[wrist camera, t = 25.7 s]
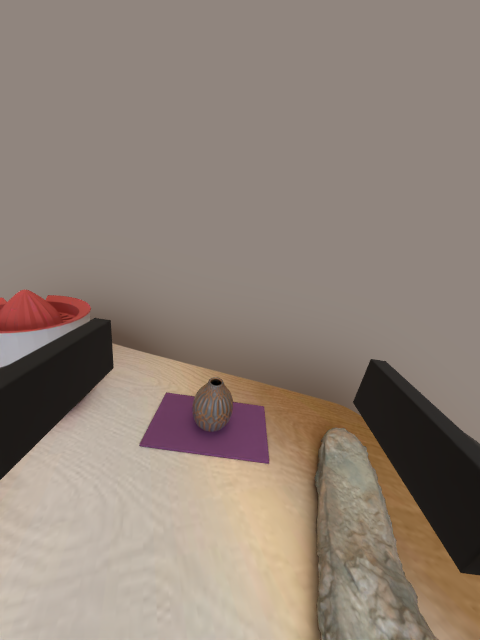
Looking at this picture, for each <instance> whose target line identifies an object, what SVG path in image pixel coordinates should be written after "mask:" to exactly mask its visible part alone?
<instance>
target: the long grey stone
mask: <svg viewBox="0 0 480 640" xmlns="http://www.w3.org/2000/svg"><path fill="white" fill-rule="evenodd" d="M321 442H322V445H321V447H320V449H319V452H318V453H319V454H318V457H319V463H318V470H317V472H316V475H315V481H316V484H315V485H316V487H317V492H318V494H319V497H318V516H317V521H316V523H317V528H316V531H317V534H318V539H317V549H318V551H317V555H318V557H319V564H318V570H319V586H318V592H319V598H318V600H317V615H318V625H319V631H320V632H321V640H438V639H437V638H436V637H435V636H434V635H433V633H432V631H431V630H430V628H429V626H428V624H427V623H426V621H425V619H424V617H423V616H422V615H421V613H420V612H419V609H418V606H417V603H418V602H417V595H416V593H415V590H414V589H413V587H412V585H411V583H410V582H408V581H407V579H406V578H405V573H404V571H403V569H402V564H401V562H400V559H399V556H398V553H397V548H396V539H395V538H394V535H393V529H392V522H391V520H390V516H389V515H388V511H387V508H386V504H385V498H384V497H383V495H382V489H381V487H380V485H379V484H378V477H377V474H376V471H375V469H374V468H373V467H372V466H371V464H370V461H369V459H368V452H367V448H366V447H365V446H363V445H362V444H361V442H360V441H359V440H358V439H357V437H356V436H355V435H354V434H352V433H350V432H348V431H347V430H346V429H345V428H332V429H330V430H328V431H327V432H326V434H325V435H324V437H323V438H322V439H321Z"/></svg>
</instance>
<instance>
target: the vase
mask: <svg viewBox="0 0 480 640" xmlns="http://www.w3.org/2000/svg"><path fill="white" fill-rule="evenodd" d="M232 411H233V400H232V396H231V393H230V391H229V390H228V389H227V387H226V386H225V385H224V382H223V380H222V379H220V378H211V379H210V380H209V381H208V383H207V384H205V385H204V386H203V387H201V388H200V389H199V391H198V392H197V394H196V396H195V398H194V401H193V406H192V413H193V417H194V420H195V422H196V424H197V425H198V426H199V427H200V428H201V429H203V430H205V431H209V432H214V431H218V430H220V429H222V428H223V427H224V426H225V425H226V424H227V423H228V421H229V420H230V418H231V415H232Z"/></svg>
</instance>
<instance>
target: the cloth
mask: <svg viewBox="0 0 480 640" xmlns="http://www.w3.org/2000/svg"><path fill="white" fill-rule="evenodd" d="M194 398H195V397H194V396H187V395H180V394H173V393H166V394H165V396H164V398H163V400H162V402H161V404H160V406H159V408H158V410H157V412H156V414H155V415H154V417H153V419H152V421H151V423H150V425H149V427H148V429H147V431H146V433H145V435H144V437H143V439H142V441H141V443H140V446H143V447H150V448H158V449H165V450H172V451H180V452H187V453H194V454H202V455H209V456H216V457H224V458H231V459H238V460H246V461H253V462H260V463H268V464H269V454H268V444H267V433H266V423H265V412H264V406H257V405H250V404H243V403H236V402H233V411H232V415H231V418H230V420H229V421H228V423H227V424H226V425H225V426H224V427H223V428H222V429H220V430H218V431H214V432H209V431H205V430H203V429H201V428H200V427H199V426H198V425H197V424H196V422H195V420H194V417H193V413H192V406H193V401H194Z"/></svg>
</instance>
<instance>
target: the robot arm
mask: <svg viewBox="0 0 480 640" xmlns="http://www.w3.org/2000/svg"><path fill="white" fill-rule="evenodd" d="M112 369H113V352H112V335H111V321H110V320H104V319H97V318H94V319H92V320H90V321H89V322H87V323H85V324H83V325H81V326H79V327H77V328H76V329H74V330H72V331H70V332H68V333H66V334H65V335H63V336H61V337H59V338H57V339H55V340H53V341H52V342H50V343H48V344H46V345H44V346H42V347H41V348H39V349H37V350H35V351H33V352H31V353H29V354H28V355H26V356H24V357H22V358H20V359H18V360H17V361H15V362H13V363H11V364H9V365H6V366H3V367H0V480H1V479H2V478H3V477H4V476H5V475H6V474H7V473H8V472H9V471H10V470H11V469H12V468H13V467H14V466H15V465H16V464H17V463H18V462H19V461H20V460H21V459H22V458H23V457H24V456H25V455H26V454H27V453H28V452H29V451H30V450H31V449H32V448H33V447H34V446H35V445H36V444H37V443H38V442H39V441H40V440H41V439H42V438H43V437H44V436H45V435H46V434H47V433H48V432H49V431H50V430H51V429H52V428H53V427H54V426H55V425H56V424H57V423H58V422H59V421H60V420H61V419H62V418H63V417H64V416H65V415H66V414H67V413H68V412H69V411H70V410H71V409H72V408H73V407H74V406H76V405H77V404H78V403H79V402H80V401H81V400H82V399H83V398H84V397H85V396H86V395H87V394H88V393H89V392H90V391H91V390H92V389H93V388H94V387H95V386H96V385H97V384H98V383H99V382H100V381H101V380H102V379H103V378H104V377H105V376H106V375H107V374H108V373H109V372H110V371H111V370H112ZM353 403H354V405H355V406H356V408H357V409H358V411H359V412H360V414H361V416H362V417H363V419H364V420H365V422H366V424H367V425H368V427H369V428H370V430H371V432H372V433H373V435H374V436H375V438H376V439H377V441H378V443H379V444H380V446H381V447H382V449H383V451H384V452H385V454H386V455H387V457H388V458H389V460H390V462H391V463H392V465H393V466H394V468H395V469H396V471H397V473H398V474H399V476H400V477H401V479H402V481H403V482H404V484H405V485H406V487H407V488H408V490H409V492H410V493H411V495H412V496H413V498H414V500H415V501H416V503H417V504H418V506H419V507H420V509H421V511H422V512H423V514H424V515H425V517H426V519H427V520H428V522H429V523H430V525H431V526H432V528H433V530H434V531H435V533H436V534H437V536H438V537H439V539H440V541H441V542H442V544H443V545H444V547H445V549H446V550H447V552H448V553H449V555H450V556H451V558H452V560H453V561H454V563H455V564H456V566H457V568H458V569H459V571H460V572H461V573H466V574H474V575H480V444H479V443H478V442H477V441H475V440H474V439H473V438H471V437H470V436H468V435H467V434H465V433H464V432H463V431H462V430H460V429H459V428H458V427H457V426H456V425H455V424H454V423H453V422H452V421H450V420H449V419H448V418H447V417H446V416H445V415H444V414H443V413H442V412H441V411H439V409H437V408H436V407H435V406H434V405H433V404H432V403H431V402H430V401H429V400H427V399H426V398H425V397H424V396H423V395H422V394H421V393H420V392H419V391H418V390H417V389H415V388H414V387H413V386H412V385H411V384H410V383H409V382H408V381H407V380H406V379H405V378H403V377H402V376H401V375H400V374H399V373H398V372H397V371H396V370H395V369H394V368H392V367H391V366H390V365H389V364H388V363H387V362H386V361H380V360H373V359H371V360H370V363H369V365H368V367H367V370H366V372H365V375H364V377H363V379H362V382H361V384H360V387H359V389H358V392H357V394H356V397H355V399H354V401H353Z"/></svg>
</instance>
